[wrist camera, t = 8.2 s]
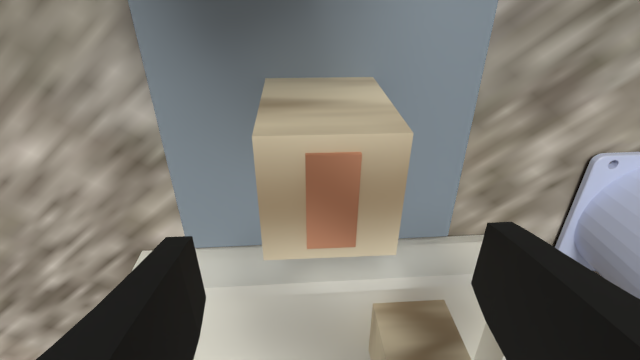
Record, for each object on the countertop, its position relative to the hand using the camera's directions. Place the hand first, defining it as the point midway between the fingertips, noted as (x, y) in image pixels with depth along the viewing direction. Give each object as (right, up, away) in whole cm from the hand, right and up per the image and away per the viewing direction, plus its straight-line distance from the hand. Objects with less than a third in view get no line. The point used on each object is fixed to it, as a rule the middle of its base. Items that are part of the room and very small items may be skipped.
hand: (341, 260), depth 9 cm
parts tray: (+1, -7, +15) cm, 17 cm away
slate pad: (-1, +5, +8) cm, 9 cm away
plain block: (+5, -8, +15) cm, 17 cm away
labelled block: (-1, +4, +7) cm, 9 cm away
